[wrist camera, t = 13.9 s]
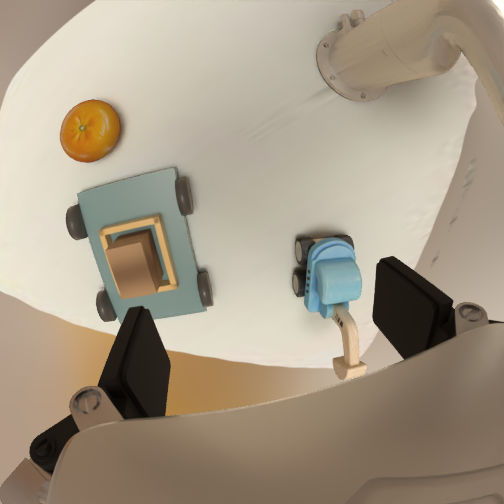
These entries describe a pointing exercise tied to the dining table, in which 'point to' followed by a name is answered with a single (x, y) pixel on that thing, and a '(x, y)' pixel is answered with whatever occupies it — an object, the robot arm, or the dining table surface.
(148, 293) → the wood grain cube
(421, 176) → the dining table surface
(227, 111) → the dining table surface
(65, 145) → the fruit
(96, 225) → the chassis
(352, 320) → the toy excavator
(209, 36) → the dining table surface
